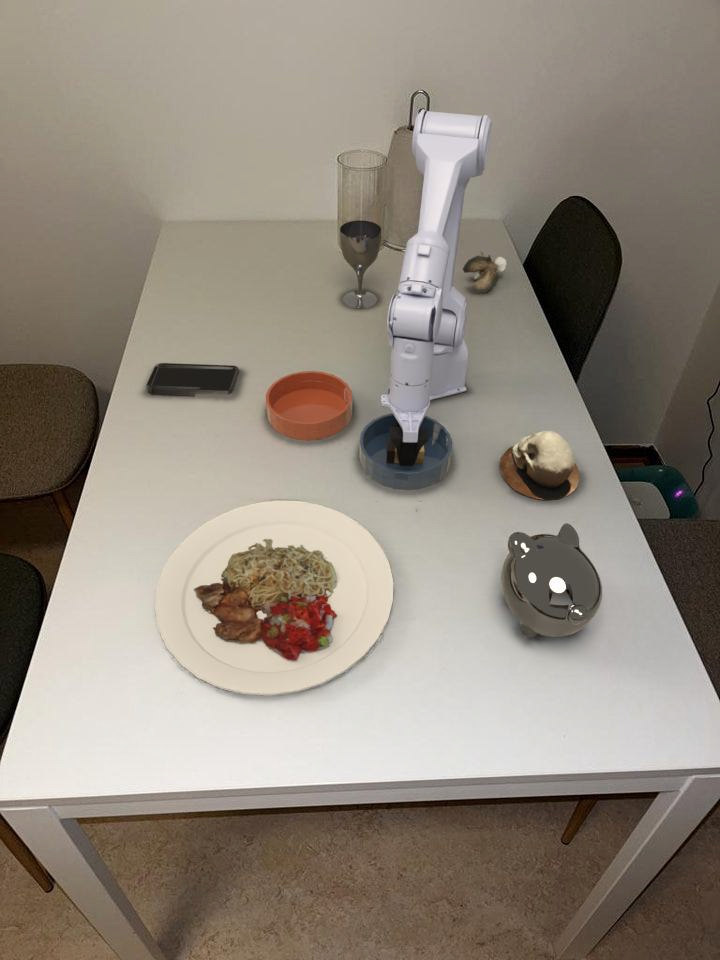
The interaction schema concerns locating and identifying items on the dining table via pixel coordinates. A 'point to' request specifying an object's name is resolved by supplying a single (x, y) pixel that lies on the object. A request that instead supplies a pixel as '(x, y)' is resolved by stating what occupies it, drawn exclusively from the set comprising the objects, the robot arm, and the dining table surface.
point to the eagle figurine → (484, 271)
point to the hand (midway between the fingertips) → (405, 447)
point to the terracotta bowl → (309, 405)
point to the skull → (541, 466)
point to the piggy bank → (550, 583)
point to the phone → (192, 379)
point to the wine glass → (360, 257)
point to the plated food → (274, 597)
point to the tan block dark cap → (393, 456)
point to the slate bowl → (393, 473)
